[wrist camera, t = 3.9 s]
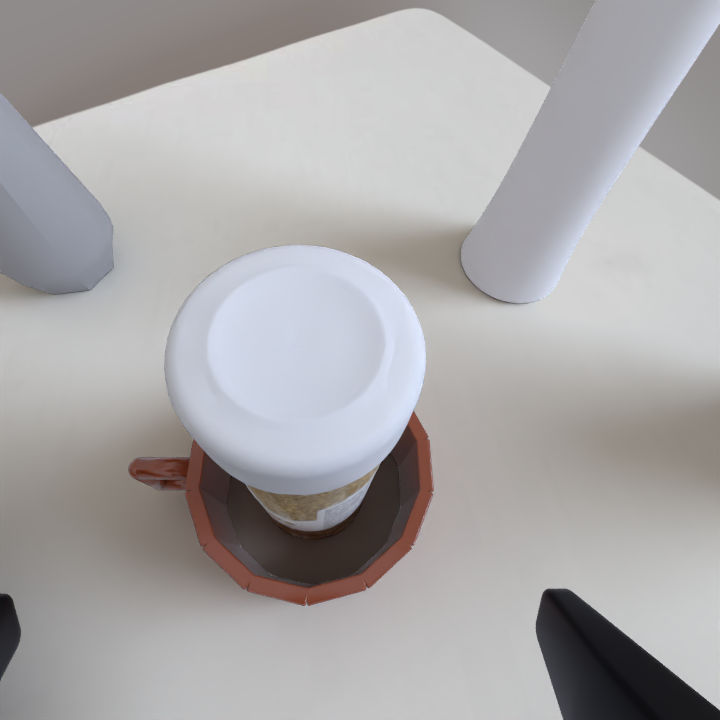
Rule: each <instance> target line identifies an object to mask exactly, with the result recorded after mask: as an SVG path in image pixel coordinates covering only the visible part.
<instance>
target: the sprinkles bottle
mask: <svg viewBox="0 0 720 720" xmlns="http://www.w3.org/2000/svg"><path fill="white" fill-rule="evenodd" d="M425 369H426V350H425V340H424V336H423V333H422V329H421V326H420V323H419V320H418V318H417V316H416V313H415V312H414V310H413V308H412V306H411V304H410V302H409V301H408V299H407V297H406V296H405V295H404V294H403V293H402V291H401V290H400V289H399V288H398V287H397V286H396V285H395V284H394V283H393V282H392V281H391V280H390V279H389V278H388V277H387V276H386V275H385V274H383V273H382V272H381V271H379V270H378V269H377V268H375V267H374V266H372V265H370V264H369V263H367V262H365V261H364V260H361V259H359V258H357V257H355V256H352V255H350V254H347V253H345V252H342V251H338V250H334V249H331V248H326V247H321V246H311V245H286V246H276V247H271V248H265V249H262V250H258V251H255V252H251V253H249V254H246V255H244V256H241V257H239V258H237V259H235V260H232V261H230V262H229V263H227V264H225V265H224V266H222V267H220V268H219V269H217V270H216V271H214V272H213V273H212V274H210V275H209V276H208V277H207V278H206V279H204V280H203V281H202V282H201V283H200V284H199V285H198V286H197V287H196V288H195V289H194V290H193V291H192V293H191V294H190V295H189V296H188V297H187V299H186V300H185V301H184V303H183V304H182V306H181V307H180V309H179V311H178V313H177V315H176V317H175V319H174V322H173V324H172V326H171V329H170V332H169V335H168V339H167V344H166V349H165V364H164V370H165V379H166V385H167V390H168V395H169V397H170V400H171V403H172V406H173V408H174V410H175V412H176V414H177V416H178V417H179V419H180V421H181V423H182V424H183V426H184V427H185V428H186V430H187V431H188V432H189V434H190V435H191V436H192V437H193V439H194V440H195V441H196V442H197V443H198V445H199V446H200V447H201V448H202V449H203V450H204V451H205V452H206V453H207V454H208V455H209V457H210V458H211V459H212V460H213V461H214V462H215V463H217V464H218V465H219V466H220V467H221V468H222V469H224V470H225V471H226V472H227V473H229V474H230V475H232V476H233V477H235V478H236V479H238V480H240V481H241V482H243V483H245V485H246V486H247V488H248V489H249V491H250V492H251V493H252V494H253V496H254V497H255V498H256V499H257V500H258V501H259V503H260V504H261V505H262V506H263V507H264V509H265V510H266V511H267V512H268V514H269V515H270V516H271V518H272V519H273V521H274V522H275V523H276V524H277V525H278V526H279V527H280V528H281V529H283V530H284V531H285V532H287V533H289V534H290V535H293V536H295V537H298V538H302V539H312V540H313V539H322V538H325V537H328V536H331V535H333V534H335V533H338V532H340V531H342V530H343V529H344V528H345V527H346V526H347V525H348V524H349V523H350V522H351V521H352V520H353V519H354V517H355V516H356V515H357V513H358V511H359V509H360V507H361V504H362V502H363V498H364V496H365V494H366V492H367V490H368V488H369V486H370V484H371V481H372V480H373V477H374V475H375V473H376V471H377V469H378V468H379V465H380V463H381V462H382V461H383V460H384V459H385V457H386V456H387V455H388V454H389V453H390V452H391V450H392V449H393V448H394V446H395V445H396V443H397V442H398V440H399V439H400V437H401V435H402V433H403V431H404V429H405V427H406V426H407V424H408V422H409V420H410V417H411V415H412V413H413V410H414V408H415V406H416V403H417V401H418V399H419V396H420V393H421V389H422V386H423V382H424V375H425Z"/></svg>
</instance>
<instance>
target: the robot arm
mask: <svg viewBox="0 0 720 720" xmlns="http://www.w3.org/2000/svg"><path fill="white" fill-rule="evenodd" d="M536 634H537V639H538V642H539V645H540V648H541V651H542V654H543V658H544V661H545V664H546V667H547V670H548V673H549V676H550V679H551V683H552V686H553V689H554V692H555V695H556V698H557V701H558V704H559V708H560V711H561V714H562V717H563V720H720V710H719V709H717V708H716V707H715V706H714V705H712V704H711V703H710V702H709V701H707V700H706V699H705V698H704V697H703V696H701V695H700V694H699V693H698V692H696V691H695V690H694V689H693V688H691V687H690V686H689V685H688V684H686V683H685V682H684V681H683V680H681V679H680V678H679V677H678V676H676V675H675V674H674V673H673V672H671V671H670V670H669V669H668V668H667V667H665V666H664V665H663V664H662V663H660V662H659V661H658V660H657V659H655V658H654V657H653V656H652V655H650V654H649V653H648V652H647V651H645V650H644V649H643V648H642V647H640V646H639V645H638V644H637V643H635V642H634V641H633V640H632V639H630V638H629V637H628V636H627V635H626V634H624V633H623V632H622V631H621V630H619V629H618V628H617V627H616V626H614V625H613V624H612V623H611V622H609V621H608V620H607V619H606V618H604V617H603V616H602V615H601V614H599V613H598V612H597V611H596V610H594V609H593V608H592V607H591V606H590V605H588V604H587V603H586V602H585V601H583V600H582V599H581V598H580V597H578V596H577V595H576V594H575V593H573V592H572V591H570V590H568V589H546V590H545V591H544V592H543V594H542V598H541V602H540V607H539V611H538V616H537V620H536ZM20 637H21V629H20V625H19V621H18V617H17V614H16V610H15V606H14V603H13V600H12V598H11V597H10V596H9V595H7V594H0V680H1V678H2V676H3V674H4V672H5V670H6V668H7V666H8V664H9V662H10V661H11V659H12V657H13V655H14V653H15V651H16V649H17V647H18V644H19V641H20Z"/></svg>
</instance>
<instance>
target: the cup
mask: <svg viewBox="0 0 720 720" xmlns="http://www.w3.org/2000/svg"><path fill="white" fill-rule="evenodd" d="M391 454H392V456H393V458H394V460H395V462H396V464H397V466H398V468H399V484H400V505H401V508H400V510H399V512H398V515H397V517H396V520H395V522H394V525H393V527H392V530H391V532H390V535H389V537H388V539H387V542H386V544H385V546H384V547H383V548H382V549H381V550H380V551H378V552H377V553H376V554H375V555H374V556H373V557H372V558H371V559H370V560H368V561H367V562H366V563H365V564H364V565H363V566H362V567H361V568H360V569H358V570H357V571H356V572H355V573H354V574H352V575H348V576H345V577H341V578H337V579H333V580H329V581H326V582H322V583H318V584H314V585H309V584H305V583H301V582H297V581H293V580H289V579H285V578H281V577H277V576H273V575H270V574H269V573H268V572H267V571H266V570H265V569H264V568H263V567H262V566H261V565H260V564H258V563H257V562H256V561H255V560H254V559H253V558H252V557H251V556H250V555H249V554H248V553H247V552H246V551H245V550H244V549H243V548H241V547H240V545H239V542H238V539H237V536H236V533H235V530H234V527H233V524H232V521H231V518H230V515H229V512H228V509H227V501H228V493H229V485H230V477H231V475H230V474H229V473H227V472H226V471H225V470H224V469H222V468H221V467H220V466H219V465H218V464H217V463H215V462H214V461H213V460H212V459H211V458H210V457H209V455H208V454H207V453H206V452H205V451H204V450H203V449H202V448H201V447H200V446H199V445H198V443H197V442H196V441H195V440H194V439H193V444H192V450H191V455H190V458H186V457H139V458H136V459H134V460H133V461H132V462H131V463H130V465H129V468H128V471H129V474H130V476H131V477H132V478H134V479H136V480H138V481H140V482H142V483H144V484H146V485H148V486H150V487H152V488H154V489H156V490H167V491H187V492H185V496H186V499H187V503H188V506H189V509H190V513H191V516H192V519H193V522H194V526H195V529H196V532H197V536H198V539H199V542H200V546H201V547H203V551H205V552H206V553H207V554H208V555H209V556H210V557H211V558H212V559H213V560H214V561H215V562H216V563H217V564H218V565H219V566H220V567H221V568H222V569H223V570H224V571H225V572H226V573H227V574H228V575H229V576H230V577H231V578H232V579H233V580H234V581H235V582H236V583H237V584H238V585H240V586H241V587H242V588H243V589H244V590H245V589H247V591H248V592H251V593H255V594H259V595H263V596H267V597H271V598H275V599H279V600H283V601H287V602H291V603H295V604H298V605H302V606H305V605H306V604H307V605H308V606H310V605H314V604H318V603H321V602H325V601H329V600H332V599H336V598H340V597H343V596H347V595H351V594H354V593H358V592H362V591H365V590H366V588H370V587H371V586H372V585H374V584H375V583H376V582H377V581H378V580H379V579H380V578H381V577H382V576H383V575H384V574H385V573H386V572H387V571H389V570H390V569H391V568H392V567H393V566H394V565H395V564H396V563H397V562H398V561H399V560H400V559H401V558H403V557H404V556H405V555H406V554H407V553H408V552H409V551H410V550H411V549H412V547H411V546H414V544H415V542H416V539H417V536H418V534H419V531H420V528H421V526H422V523H423V520H424V518H425V515H426V512H427V510H428V507H429V504H430V502H431V499H432V496H433V493H432V492H433V491H434V488H433V476H432V464H431V452H430V441H429V439H428V435H427V433H426V432H425V430H424V428H423V426H422V425H421V423H420V421H419V419H418V418H417V416H416V414H415V412H414V410H413V413H412V415H411V417H410V420H409V422H408V424H407V426H406V427H405V429H404V431H403V433H402V435H401V437H400V439H399V440H398V442H397V443H396V445H395V446H394V448H393V449H392V450H391Z"/></svg>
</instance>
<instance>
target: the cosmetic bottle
mask: <svg viewBox="0 0 720 720" xmlns="http://www.w3.org/2000/svg"><path fill="white" fill-rule="evenodd" d="M719 24H720V0H595V2H594V4H593V6H592V8H591V10H590V11H589V13H588V15H587V17H586V19H585V21H584V23H583V25H582V27H581V29H580V31H579V33H578V35H577V37H576V39H575V41H574V43H573V45H572V47H571V49H570V51H569V53H568V55H567V57H566V59H565V61H564V63H563V65H562V67H561V69H560V71H559V73H558V75H557V77H556V79H555V81H554V83H553V85H552V87H551V89H550V91H549V93H548V95H547V97H546V99H545V100H544V102H543V104H542V106H541V108H540V110H539V112H538V114H537V116H536V118H535V120H534V122H533V124H532V126H531V128H530V130H529V132H528V134H527V136H526V138H525V140H524V142H523V143H522V145H521V147H520V149H519V151H518V153H517V155H516V157H515V159H514V160H513V162H512V164H511V166H510V168H509V170H508V172H507V173H506V175H505V177H504V179H503V181H502V182H501V184H500V186H499V188H498V189H497V191H496V193H495V195H494V196H493V198H492V200H491V201H490V203H489V205H488V206H487V208H486V209H485V211H484V213H483V214H482V216H481V217H480V219H479V220H478V222H477V223H476V225H475V226H474V228H473V229H472V230H471V232H470V233H469V235H468V236H467V237H466V239H465V241H464V242H463V245H462V248H461V262H462V266H463V269H464V271H465V273H466V275H467V276H468V278H469V279H470V280H471V281H472V282H473V284H474V285H475V286H477V287H478V288H479V289H480V290H482V291H483V292H484V293H486V294H488V295H490V296H492V297H494V298H496V299H499V300H502V301H506V302H511V303H529V302H534V301H537V300H540V299H542V298H544V297H545V296H547V295H548V294H550V293H551V292H552V291H553V290H554V288H555V287H556V285H557V284H558V281H559V279H560V277H561V275H562V272H563V270H564V268H565V266H566V264H567V262H568V260H569V258H570V256H571V254H572V252H573V251H574V249H575V247H576V245H577V243H578V241H579V240H580V238H581V236H582V234H583V233H584V231H585V229H586V227H587V226H588V224H589V222H590V221H591V219H592V217H593V216H594V214H595V212H596V211H597V209H598V208H599V206H600V204H601V203H602V201H603V200H604V198H605V196H606V195H607V193H608V192H609V190H610V189H611V187H612V185H613V184H614V182H615V181H616V179H617V178H618V176H619V175H620V173H621V172H622V170H623V169H624V167H625V166H626V164H627V163H628V161H629V160H630V158H631V156H632V155H633V153H634V152H635V150H636V149H637V147H638V146H639V144H640V143H641V141H642V139H643V138H644V137H645V135H646V134H647V132H648V131H649V129H650V128H651V126H652V124H653V123H654V122H655V120H656V118H657V117H658V116H659V114H660V113H661V111H662V110H663V108H664V107H665V105H666V104H667V102H668V101H669V99H670V98H671V96H672V95H673V93H674V92H675V90H676V89H677V87H678V86H679V84H680V83H681V81H682V80H683V78H684V77H685V75H686V74H687V72H688V71H689V69H690V68H691V66H692V65H693V63H694V62H695V60H696V59H697V57H698V56H699V54H700V53H701V51H702V50H703V48H704V46H705V45H706V43H707V42H708V40H709V39H710V37H711V36H712V34H713V33H714V31H715V30H716V28H717V27H718V25H719Z"/></svg>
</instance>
